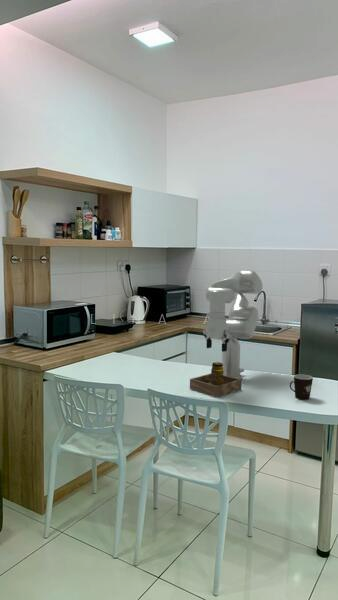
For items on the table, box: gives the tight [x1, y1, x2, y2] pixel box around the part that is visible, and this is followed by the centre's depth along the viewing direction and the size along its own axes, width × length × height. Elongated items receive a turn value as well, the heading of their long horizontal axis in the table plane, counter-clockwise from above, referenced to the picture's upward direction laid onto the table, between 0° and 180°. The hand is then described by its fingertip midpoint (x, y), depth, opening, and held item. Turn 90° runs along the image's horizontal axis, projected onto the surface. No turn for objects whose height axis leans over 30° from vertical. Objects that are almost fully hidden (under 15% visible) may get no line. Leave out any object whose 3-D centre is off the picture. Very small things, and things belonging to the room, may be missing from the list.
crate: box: [189, 372, 243, 398], centre depth 225 cm, size 18×18×5 cm
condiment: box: [210, 361, 224, 386], centre depth 225 cm, size 7×8×12 cm
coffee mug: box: [289, 373, 314, 401], centre depth 213 cm, size 12×9×10 cm
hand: (216, 349), depth 224 cm, fingers open, 9 cm apart
